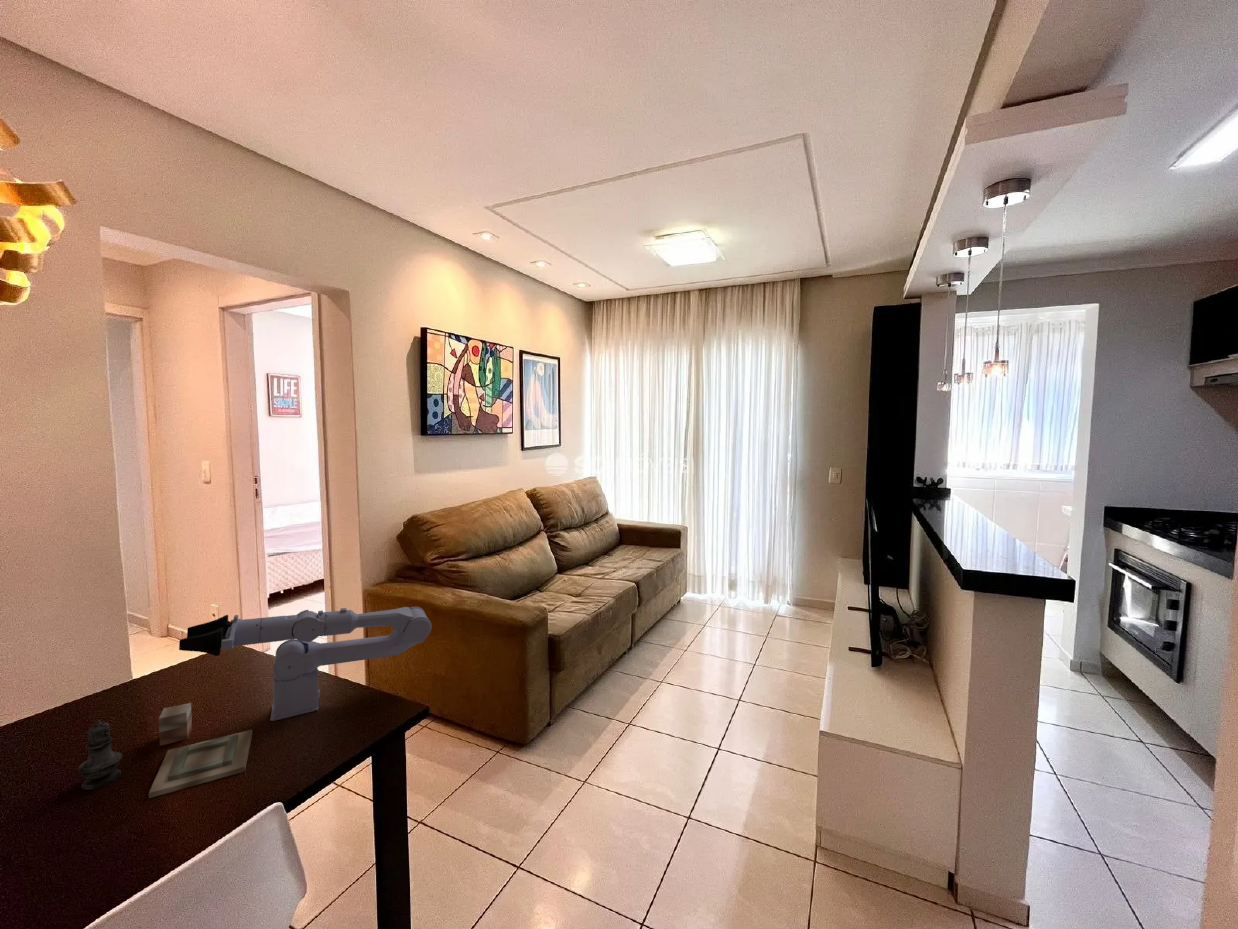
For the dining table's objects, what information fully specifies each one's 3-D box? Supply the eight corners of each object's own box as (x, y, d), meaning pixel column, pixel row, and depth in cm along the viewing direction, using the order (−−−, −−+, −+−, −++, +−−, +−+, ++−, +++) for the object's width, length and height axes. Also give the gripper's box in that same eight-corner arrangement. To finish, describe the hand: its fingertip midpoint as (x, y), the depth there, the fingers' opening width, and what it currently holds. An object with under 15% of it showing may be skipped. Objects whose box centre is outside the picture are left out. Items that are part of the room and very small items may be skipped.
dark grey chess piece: (94, 793, 90) (90, 730, 89) (69, 788, 91) (66, 726, 90) (131, 771, 96) (128, 712, 95) (108, 767, 97) (105, 708, 96)
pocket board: (252, 733, 108) (252, 725, 108) (245, 771, 96) (244, 762, 96) (168, 754, 101) (167, 746, 101) (148, 798, 89) (148, 789, 89)
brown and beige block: (192, 728, 110) (190, 702, 109) (187, 739, 106) (186, 712, 106) (165, 734, 107) (164, 708, 107) (159, 746, 104) (158, 718, 103)
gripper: (264, 604, 120) (191, 610, 112) (258, 623, 107) (176, 631, 100) (262, 632, 120) (190, 640, 112) (256, 655, 107) (174, 665, 100)
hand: (183, 638), depth 106 cm, fingers open, 7 cm apart
